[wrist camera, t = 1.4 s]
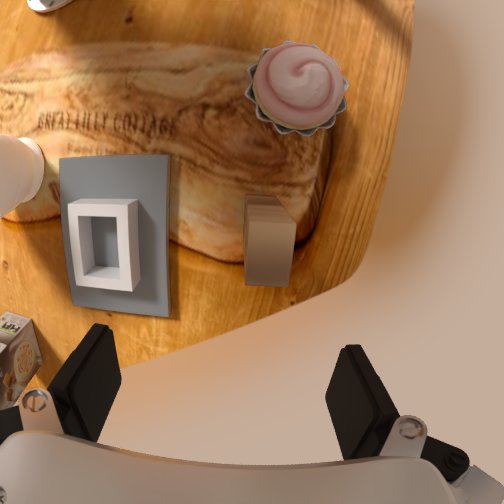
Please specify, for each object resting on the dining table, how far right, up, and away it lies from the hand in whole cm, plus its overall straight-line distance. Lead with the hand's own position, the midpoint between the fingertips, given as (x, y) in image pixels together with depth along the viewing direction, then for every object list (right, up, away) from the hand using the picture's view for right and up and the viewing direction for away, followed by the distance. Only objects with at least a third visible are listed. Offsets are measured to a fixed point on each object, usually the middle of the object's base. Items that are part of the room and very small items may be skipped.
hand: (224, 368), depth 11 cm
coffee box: (-36, -9, +25) cm, 44 cm away
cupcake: (+5, +20, +16) cm, 27 cm away
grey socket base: (-14, +6, +20) cm, 25 cm away
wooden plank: (+2, +8, +20) cm, 22 cm away
